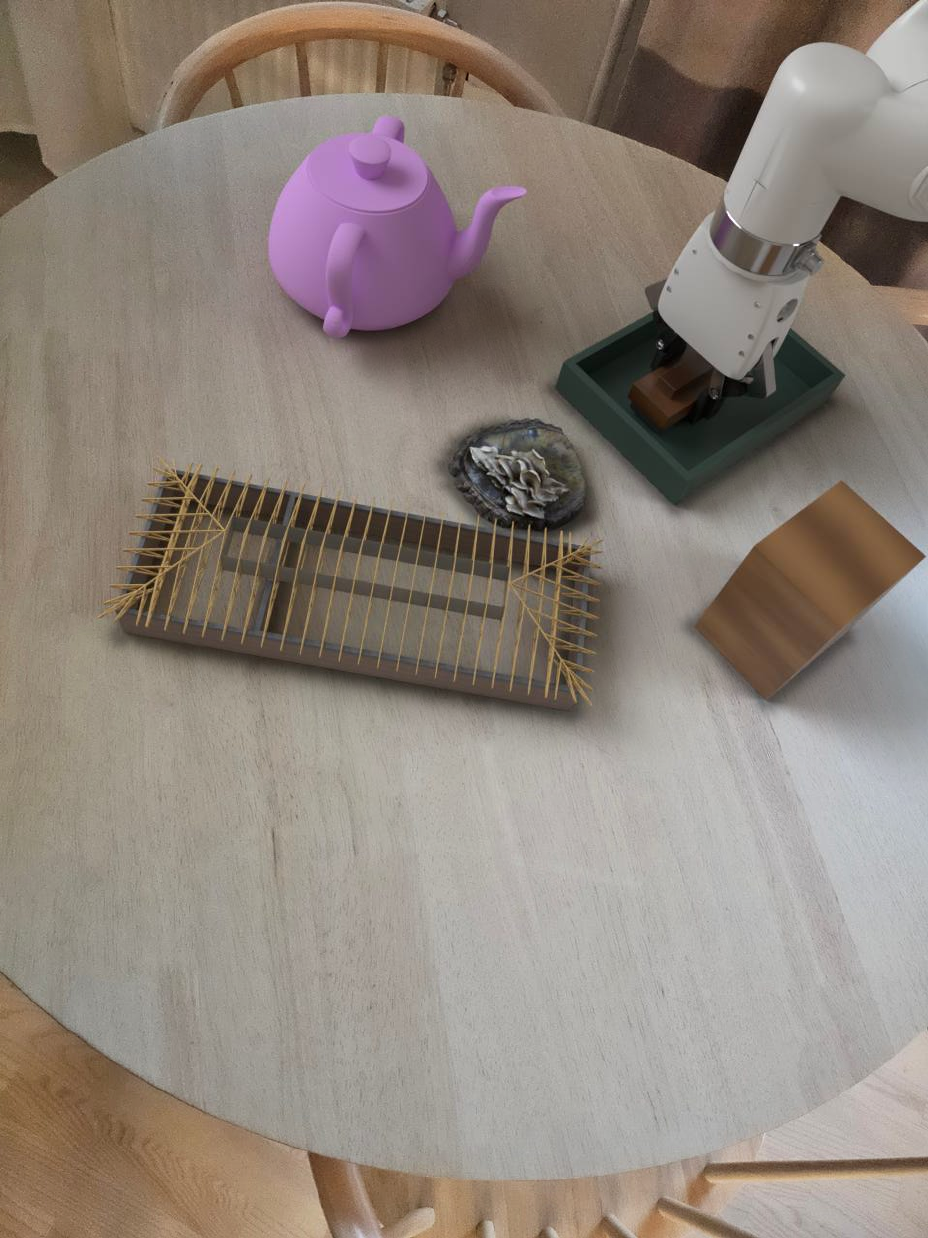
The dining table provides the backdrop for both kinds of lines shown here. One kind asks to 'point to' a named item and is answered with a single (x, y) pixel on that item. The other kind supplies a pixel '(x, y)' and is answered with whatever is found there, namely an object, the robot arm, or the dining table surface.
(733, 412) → the tray
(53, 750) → the dining table surface
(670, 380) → the brush
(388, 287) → the teapot
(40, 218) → the dining table surface
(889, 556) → the stand
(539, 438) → the log
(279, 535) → the rafter model
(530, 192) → the dining table surface
